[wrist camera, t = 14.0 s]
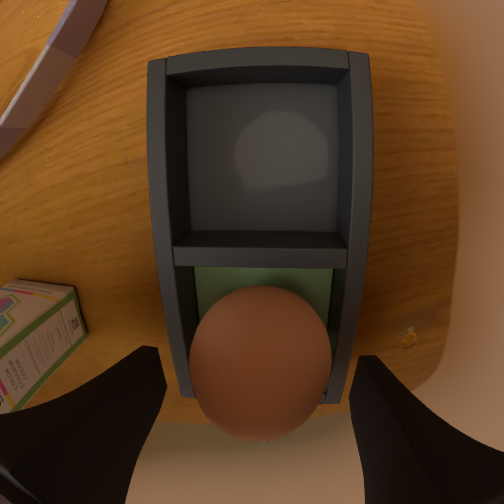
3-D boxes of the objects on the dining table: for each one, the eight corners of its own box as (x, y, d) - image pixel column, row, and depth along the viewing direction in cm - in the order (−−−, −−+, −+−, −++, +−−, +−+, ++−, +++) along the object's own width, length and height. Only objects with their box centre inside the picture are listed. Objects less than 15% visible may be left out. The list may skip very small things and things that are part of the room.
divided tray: (350, 74, 11) (369, 52, 8) (332, 366, 16) (339, 404, 13) (174, 78, 11) (147, 60, 9) (195, 361, 16) (180, 396, 13)
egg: (340, 287, 13) (382, 396, 6) (293, 369, 15) (294, 481, 8) (231, 244, 13) (182, 335, 6) (198, 336, 15) (152, 441, 8)
